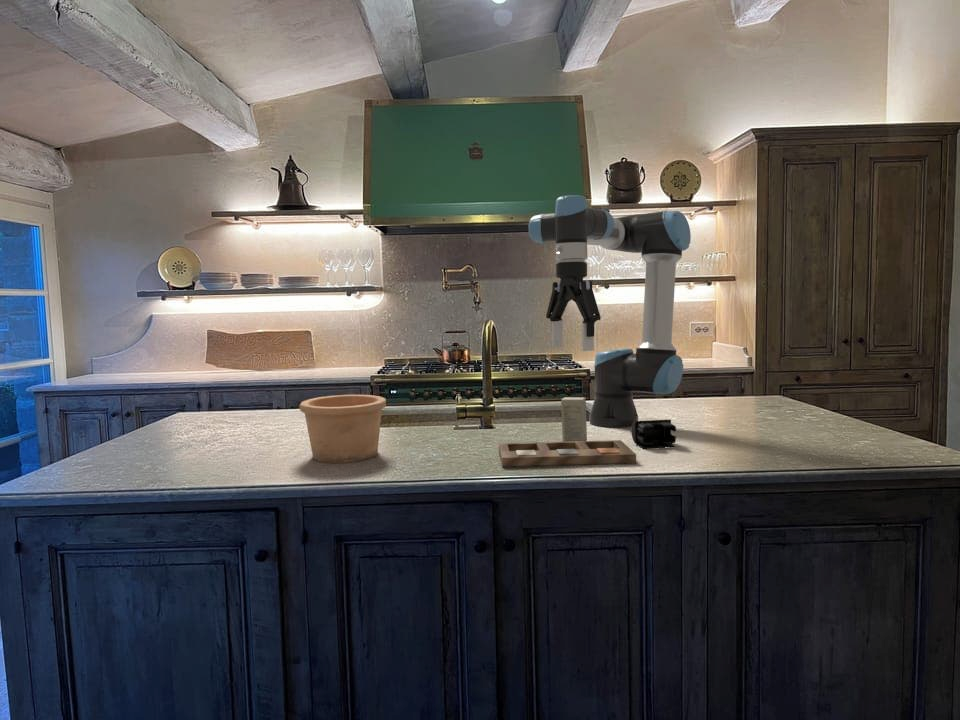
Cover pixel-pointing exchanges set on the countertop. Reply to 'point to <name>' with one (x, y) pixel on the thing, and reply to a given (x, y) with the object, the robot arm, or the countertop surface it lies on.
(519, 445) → the socket plate
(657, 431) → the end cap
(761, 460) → the countertop surface
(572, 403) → the skincare box
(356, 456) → the pottery
